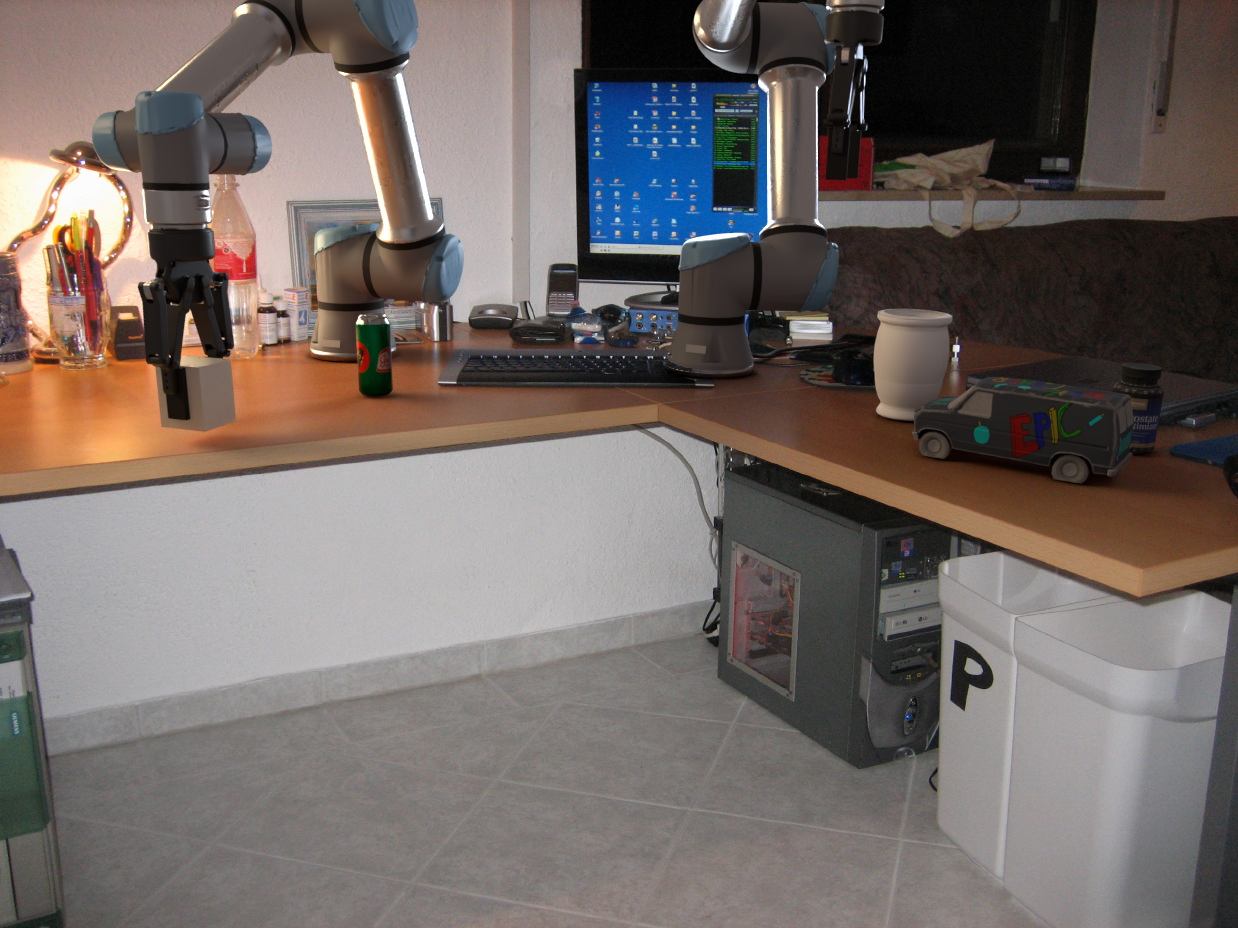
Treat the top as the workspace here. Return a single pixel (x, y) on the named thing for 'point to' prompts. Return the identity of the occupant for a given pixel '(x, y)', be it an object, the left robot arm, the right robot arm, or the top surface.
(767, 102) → the right robot arm
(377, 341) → the soda can
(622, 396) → the top surface
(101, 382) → the top surface
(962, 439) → the toy van
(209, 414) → the block
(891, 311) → the jar
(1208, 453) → the top surface
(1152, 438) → the pill bottle
